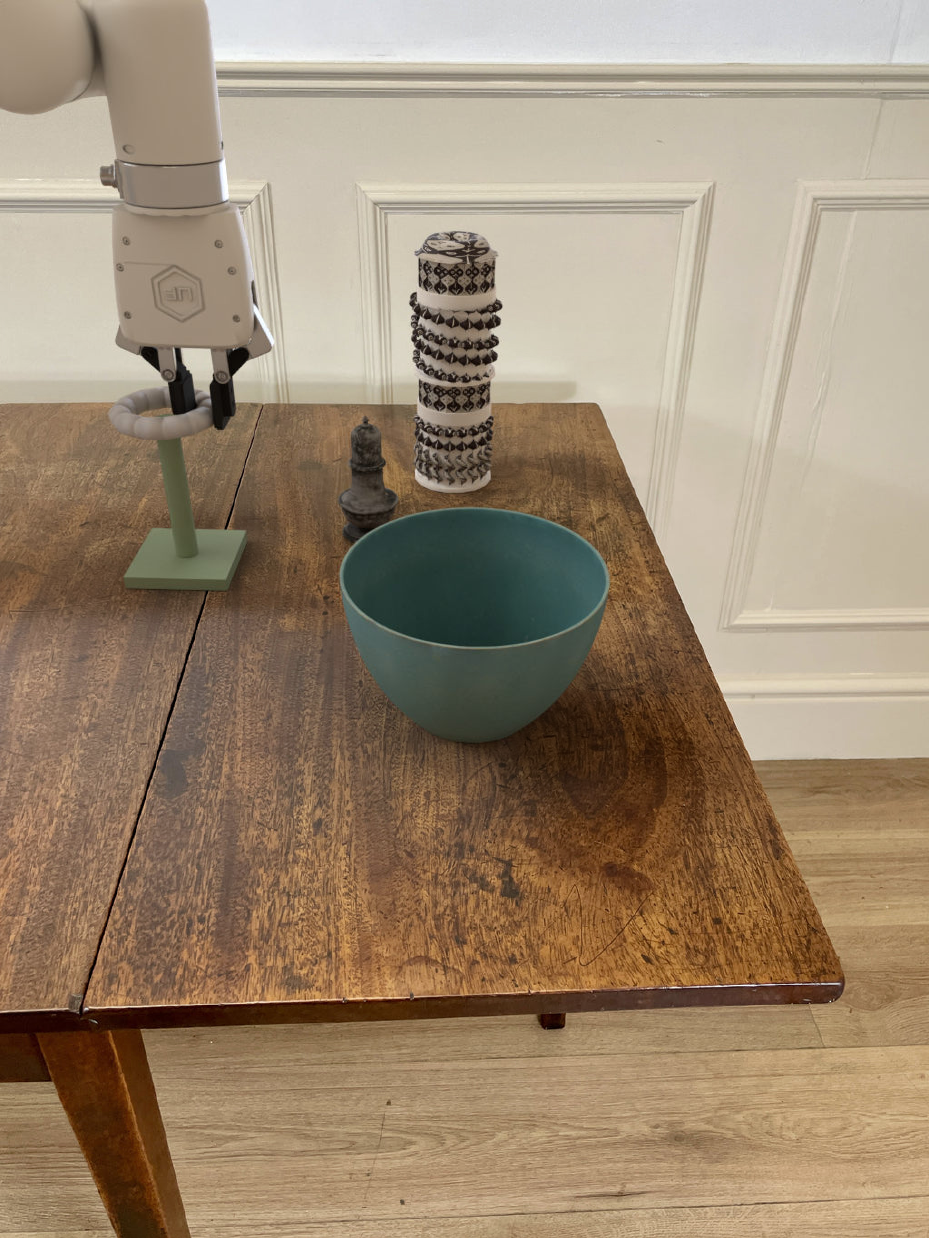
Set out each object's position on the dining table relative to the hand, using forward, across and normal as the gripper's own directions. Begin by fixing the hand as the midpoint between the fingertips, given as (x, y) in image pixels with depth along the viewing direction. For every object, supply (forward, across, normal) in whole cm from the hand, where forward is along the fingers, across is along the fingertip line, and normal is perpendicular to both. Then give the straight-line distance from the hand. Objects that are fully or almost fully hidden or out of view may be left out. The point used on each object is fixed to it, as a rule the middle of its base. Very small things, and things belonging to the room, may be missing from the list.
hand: (205, 421), depth 79 cm
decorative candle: (+14, +21, +20) cm, 32 cm away
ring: (-1, -3, 0) cm, 3 cm away
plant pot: (+14, +23, -20) cm, 33 cm away
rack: (+14, -3, 0) cm, 14 cm away
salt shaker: (+14, +13, +7) cm, 20 cm away
